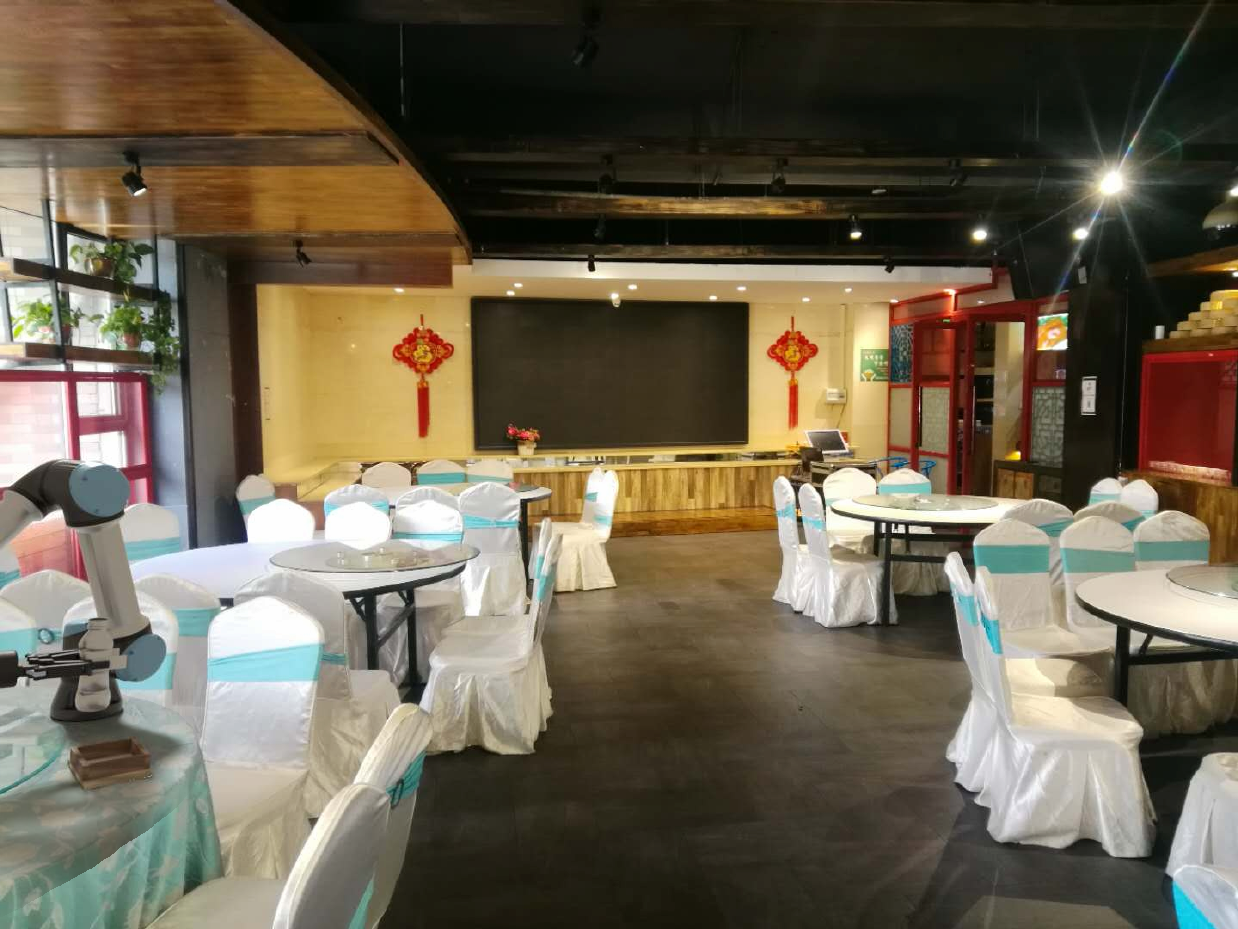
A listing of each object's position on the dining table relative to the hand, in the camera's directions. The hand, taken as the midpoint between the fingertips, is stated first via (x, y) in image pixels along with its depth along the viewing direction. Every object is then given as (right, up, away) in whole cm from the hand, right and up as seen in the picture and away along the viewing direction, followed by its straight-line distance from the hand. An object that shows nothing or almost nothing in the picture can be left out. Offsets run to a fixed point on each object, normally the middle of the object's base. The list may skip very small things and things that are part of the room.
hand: (122, 657), depth 185 cm
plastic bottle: (-5, -11, -3) cm, 12 cm away
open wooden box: (+4, -21, -11) cm, 24 cm away
